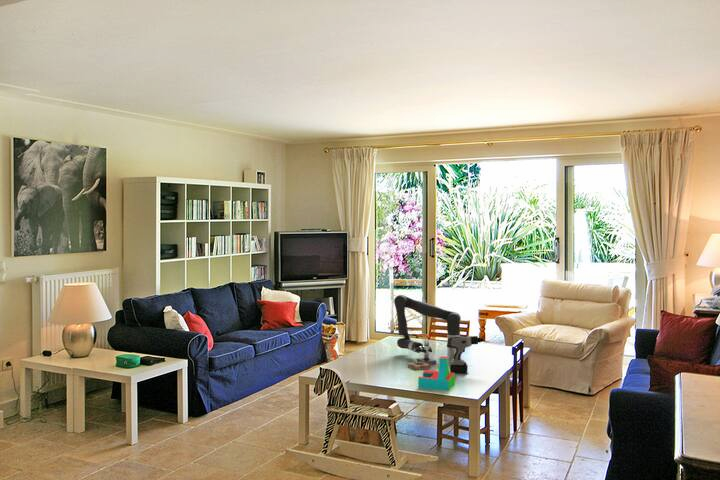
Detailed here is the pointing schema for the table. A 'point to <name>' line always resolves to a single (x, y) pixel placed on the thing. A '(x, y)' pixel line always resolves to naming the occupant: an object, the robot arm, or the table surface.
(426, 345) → the clear test tube
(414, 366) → the rack block
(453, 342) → the cordless drill
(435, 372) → the building blocks toy
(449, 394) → the table surface
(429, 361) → the grey flat square frame
